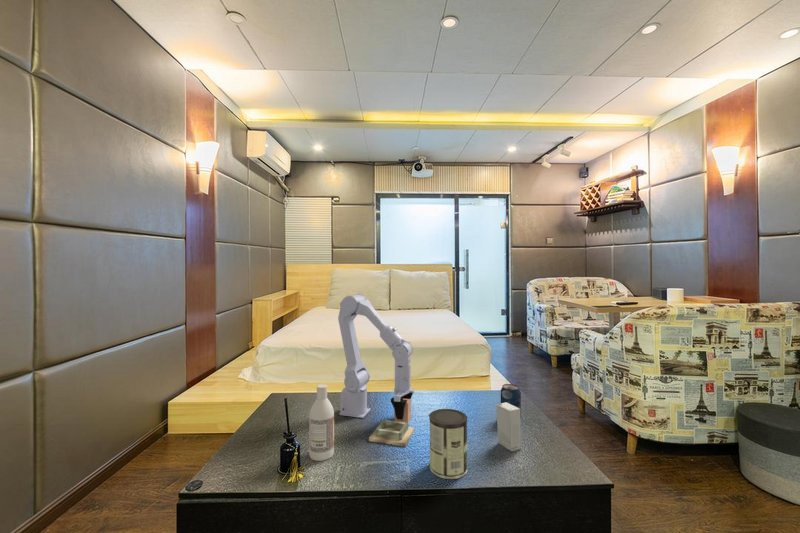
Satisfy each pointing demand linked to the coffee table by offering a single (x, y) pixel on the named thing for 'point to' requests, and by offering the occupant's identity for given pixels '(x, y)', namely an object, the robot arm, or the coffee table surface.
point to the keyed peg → (405, 412)
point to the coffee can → (448, 443)
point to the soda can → (511, 395)
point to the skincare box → (509, 426)
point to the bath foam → (321, 427)
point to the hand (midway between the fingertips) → (402, 414)
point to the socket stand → (392, 433)
